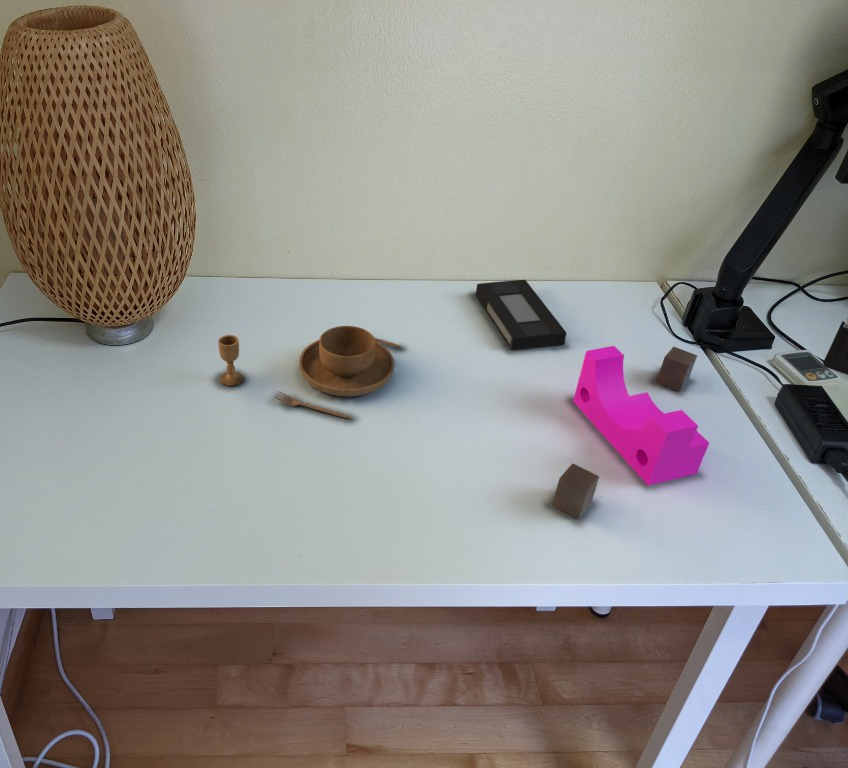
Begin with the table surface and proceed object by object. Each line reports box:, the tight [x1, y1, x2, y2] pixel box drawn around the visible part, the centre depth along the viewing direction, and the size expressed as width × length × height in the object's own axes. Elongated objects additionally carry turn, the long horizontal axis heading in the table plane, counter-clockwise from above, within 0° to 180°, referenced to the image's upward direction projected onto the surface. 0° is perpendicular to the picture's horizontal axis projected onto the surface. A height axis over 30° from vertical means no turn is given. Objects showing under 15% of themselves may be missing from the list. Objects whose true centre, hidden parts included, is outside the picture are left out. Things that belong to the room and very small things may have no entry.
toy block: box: [573, 345, 710, 486], centre depth 87 cm, size 15×6×8 cm, turn 18°
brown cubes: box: [551, 346, 698, 520], centre depth 88 cm, size 3×31×4 cm, turn 140°
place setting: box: [217, 325, 402, 420], centre depth 97 cm, size 18×20×6 cm
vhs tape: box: [475, 279, 567, 351], centre depth 108 cm, size 8×14×2 cm, turn 11°
